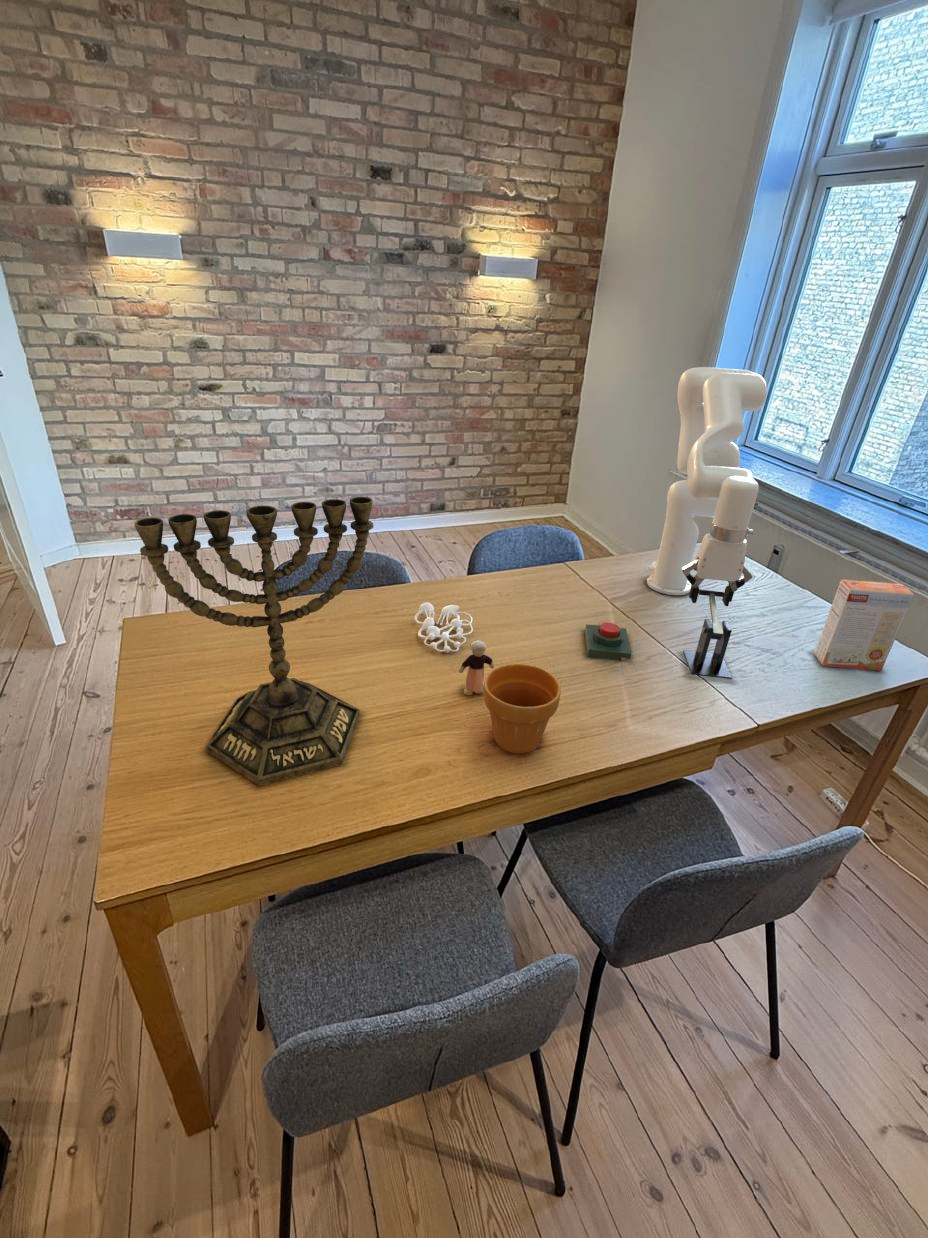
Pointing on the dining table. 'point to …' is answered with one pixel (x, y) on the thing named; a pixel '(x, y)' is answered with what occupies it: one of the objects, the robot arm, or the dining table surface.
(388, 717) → the dining table surface
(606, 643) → the button box
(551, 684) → the flower pot
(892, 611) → the cracker box
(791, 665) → the dining table surface
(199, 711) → the dining table surface
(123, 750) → the dining table surface
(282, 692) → the menorah
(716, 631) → the switch lever
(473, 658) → the grandmother figurine
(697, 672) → the switch bracket
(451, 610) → the tangled rod sculpture
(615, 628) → the red button
